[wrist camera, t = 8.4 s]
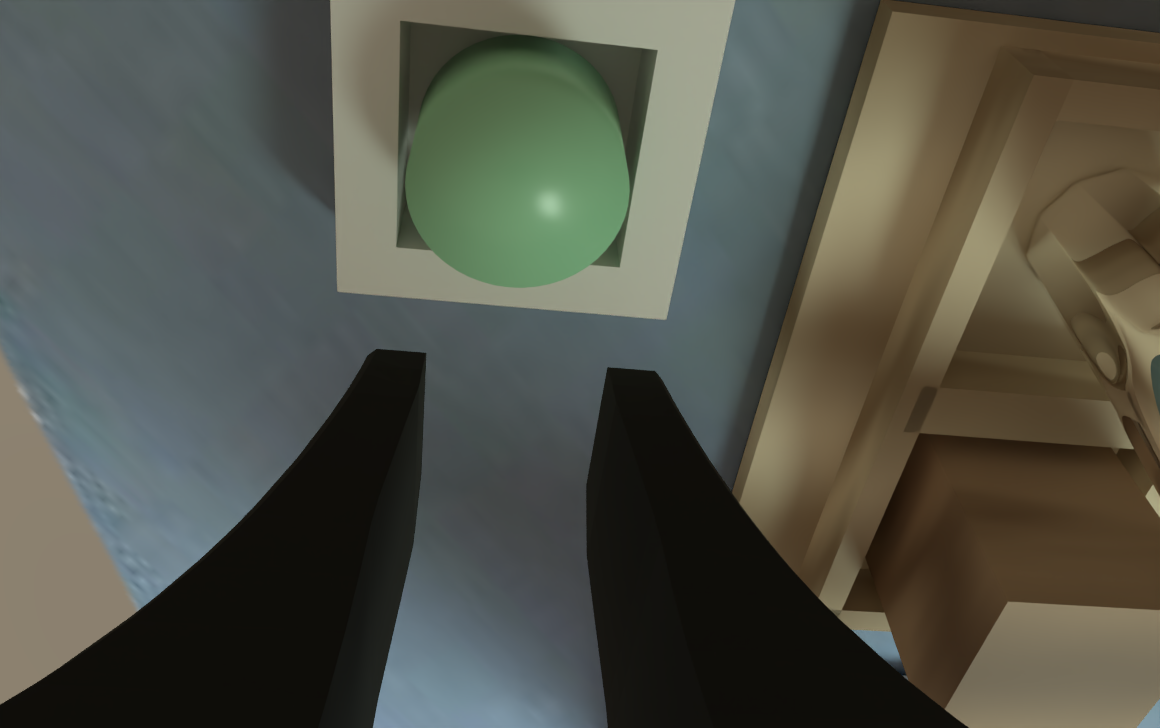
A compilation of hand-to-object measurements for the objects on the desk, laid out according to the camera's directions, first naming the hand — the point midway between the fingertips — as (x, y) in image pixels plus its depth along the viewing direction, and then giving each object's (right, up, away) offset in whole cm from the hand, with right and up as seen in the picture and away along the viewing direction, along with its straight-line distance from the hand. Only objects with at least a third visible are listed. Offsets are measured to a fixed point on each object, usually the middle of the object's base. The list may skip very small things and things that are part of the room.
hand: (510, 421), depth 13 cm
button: (0, +5, +7) cm, 9 cm away
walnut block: (+12, -3, +15) cm, 19 cm away
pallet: (+12, +1, +13) cm, 18 cm away
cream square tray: (0, +6, +8) cm, 10 cm away
